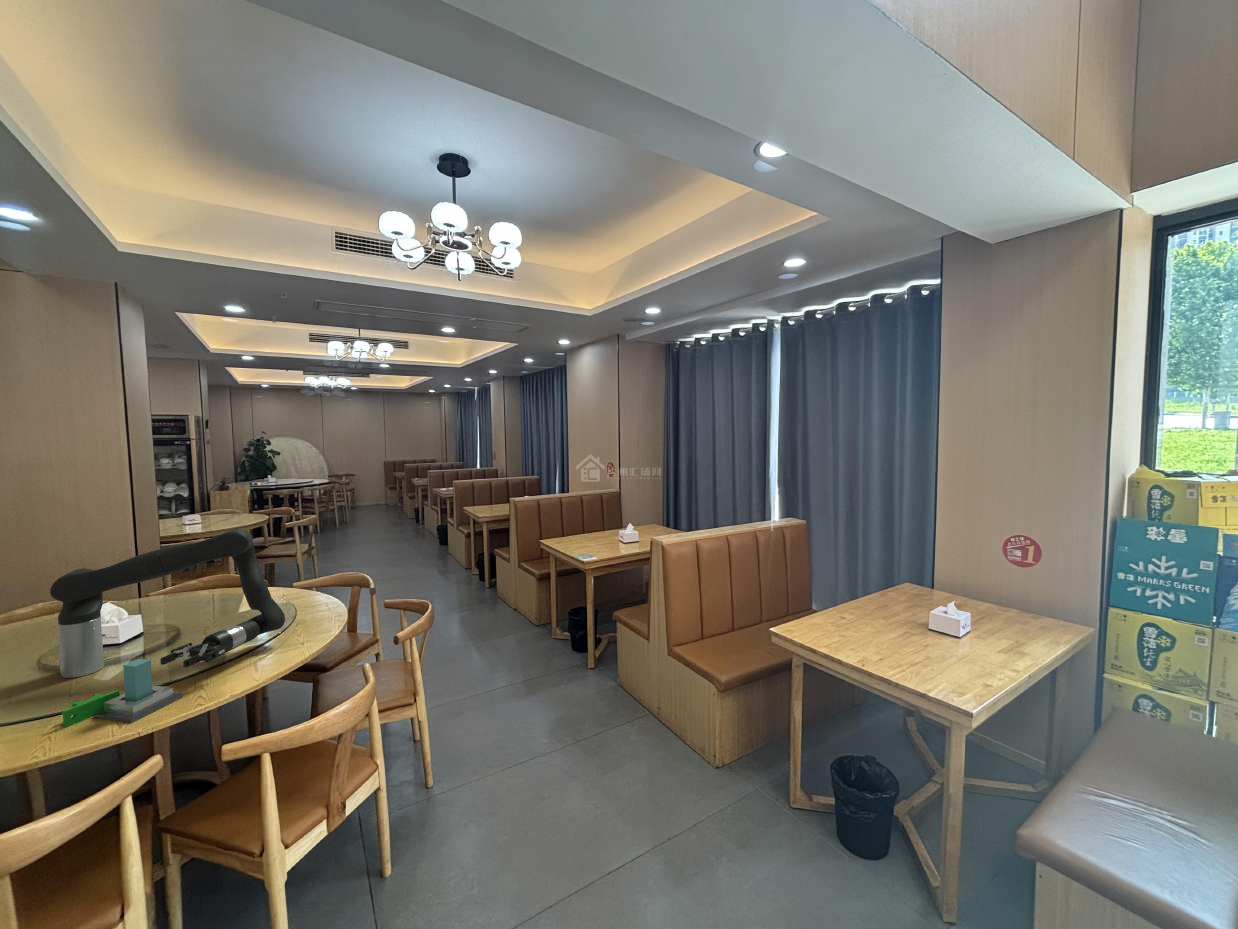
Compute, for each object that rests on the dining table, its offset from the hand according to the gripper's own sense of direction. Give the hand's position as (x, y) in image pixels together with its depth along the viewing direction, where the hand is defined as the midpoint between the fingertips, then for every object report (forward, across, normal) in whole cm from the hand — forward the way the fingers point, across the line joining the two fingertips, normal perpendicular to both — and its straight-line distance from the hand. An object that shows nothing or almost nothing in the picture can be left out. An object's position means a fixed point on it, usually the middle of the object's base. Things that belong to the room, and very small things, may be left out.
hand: (172, 663), depth 147 cm
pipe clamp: (+15, -9, +9) cm, 19 cm away
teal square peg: (+9, 0, +8) cm, 12 cm away
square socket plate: (+9, 0, +8) cm, 13 cm away
